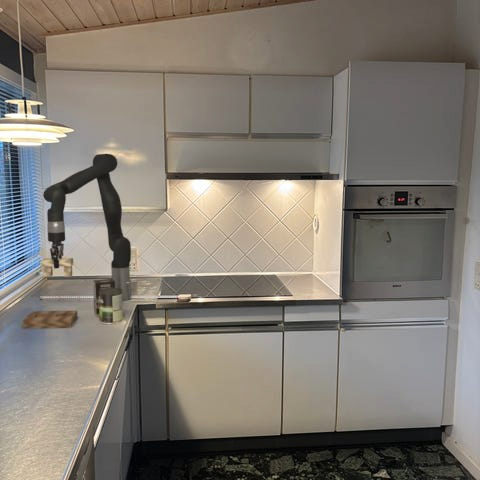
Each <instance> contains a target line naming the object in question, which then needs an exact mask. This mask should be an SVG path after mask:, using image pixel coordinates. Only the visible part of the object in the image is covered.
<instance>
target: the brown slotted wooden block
mask: <svg viewBox="0 0 480 480" xmlns="http://www.w3.org/2000/svg"><path fill="white" fill-rule="evenodd" d="M78 317H79V315H78V310H32V311H30V312H29V314H27V315H26V316H25V317H24V318H23V319H22V329H23V330H27V329H26V328H29V330H30V328H31V330H32V328H34V329H35V330H36V329H37V328H39V329H67V328H66V327H71V328H73V326H74V325H75V323H76V322H77V320H78V319H79V318H78ZM73 324H74V325H73Z"/></svg>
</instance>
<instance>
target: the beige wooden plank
mask: <svg viewBox="0 0 480 480" xmlns="http://www.w3.org/2000/svg"><path fill="white" fill-rule="evenodd" d="M73 266H74V258H72V257H70V258H69V257H67V258H64V257H62V258H59V267H63V277H64V278H65V277H66V278H67V277H68V278H69V277H72V276H73ZM41 267H43V277H44V278H51V277H53V275H54V272H53V270H54V269H53V267H54V260H52V259H51V258H46V257H45V258H43V259H41Z"/></svg>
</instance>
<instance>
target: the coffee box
mask: <svg viewBox="0 0 480 480" xmlns="http://www.w3.org/2000/svg"><path fill="white" fill-rule="evenodd" d="M92 284H93V285H92V286H93V314H94V315H95V316H96V317H100V309H99V290H101V289H105V288H115V281H114V280H113V279H112V278H106V279H105V278H104V279H94V280H93V283H92Z"/></svg>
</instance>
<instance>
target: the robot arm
mask: <svg viewBox="0 0 480 480" xmlns="http://www.w3.org/2000/svg"><path fill="white" fill-rule="evenodd" d="M117 167H118V159H117V158H116V156H115V155H113V154H112V153H99V154H96V155H94V157H93V159H92V165H91V166H90V167H88V168H87V167H86V168H84V169H82V170H80V171H77V172H75V173H73V174H72V175H69V176H68V177H67V178H65V179H64V180H62V181H60V182H59V181H58V182H57V183H54V184H52V185H50V186H48V187H47V188H45V189H44V191H43V194H42V195H43V198H44V200H45V201H46V202H48V203H51V204H50V208H48V209H47V211H46V212H47V213H46V215H47V218H46V220H47V225H46V227H47V241H48V242H49V243H52V244H51V246H50V249H49V251H50V257H51V259H52V260H54V266H53V268H54V269H60V266H59V258H63V256H64V246H65V245H64V243H62V242H65V241H66V225H65V219H64V216H65V215H64V211H65V206H66V200H67V196H66V195H70V194H73V193H75V192H77V191H78V190H80V189H81V188H83V186H86V185H87V184H88V183H91V182H92V181H94V180H95V179H96V181H97V184H98V189H99V190H98V191H99V193H100V194H99V196H100V201H101V205H102V206H101V207H102V211H103V216H104V220H105V224H106V228H107V229H106V230H107V239H108V246H109V249H110V250H111V252H112V253H113V254H112V256H113V257H112V259H113V260H112V261H111V263H110V264H111V279H113V280H114V281H115V288H119V289H122V302H123V301H130V300H131V299H132V298H131V297H132V283H131V282H132V280H131V273H130V272H131V270H130V269H131V267H130V266H131V261H132V256H131V255H132V249H131V248H132V247H131V246H132V245H131V241H130V240H129V238H128V237H126V236H125V237H124V234H123V229H122V215H123V214H122V213H123V210H122V209H123V208H122V202H121V198H120V195H119V193H118V192H117V189H116V188H115V186H114V184H113V183H112V181H111V176H110V173H111V172H114V171H115V170H116V168H117Z"/></svg>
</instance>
